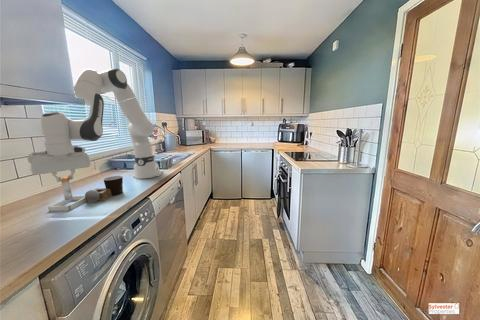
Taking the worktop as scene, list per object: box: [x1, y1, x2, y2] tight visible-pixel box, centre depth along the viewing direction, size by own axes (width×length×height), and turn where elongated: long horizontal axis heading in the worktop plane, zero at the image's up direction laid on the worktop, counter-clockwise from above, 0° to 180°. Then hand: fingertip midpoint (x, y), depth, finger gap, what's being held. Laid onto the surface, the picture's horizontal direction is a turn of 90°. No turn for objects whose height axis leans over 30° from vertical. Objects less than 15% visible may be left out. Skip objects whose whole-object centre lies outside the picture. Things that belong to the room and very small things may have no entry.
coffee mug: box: [102, 175, 124, 197], centre depth 111 cm, size 12×9×10 cm
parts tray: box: [47, 195, 87, 212], centre depth 97 cm, size 13×9×3 cm
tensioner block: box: [84, 187, 113, 204], centre depth 103 cm, size 10×8×7 cm
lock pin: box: [60, 176, 73, 200], centre depth 95 cm, size 3×3×10 cm
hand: (65, 180), depth 95 cm, fingers closed on lock pin, 3 cm apart
